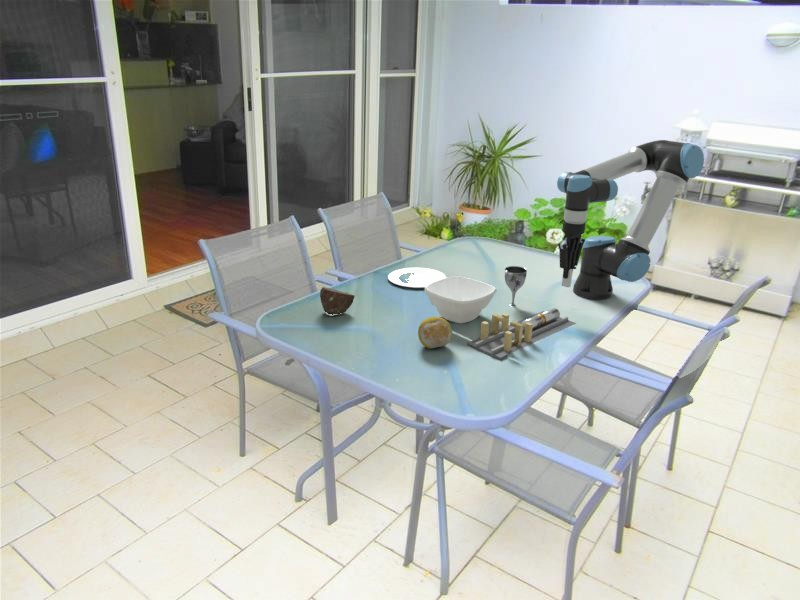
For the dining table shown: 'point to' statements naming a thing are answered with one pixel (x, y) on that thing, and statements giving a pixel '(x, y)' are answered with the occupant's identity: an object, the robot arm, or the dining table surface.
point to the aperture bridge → (517, 326)
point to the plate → (416, 277)
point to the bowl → (459, 297)
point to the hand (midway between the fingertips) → (566, 286)
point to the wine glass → (515, 279)
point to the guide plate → (504, 339)
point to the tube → (542, 319)
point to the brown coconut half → (335, 300)
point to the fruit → (434, 332)
